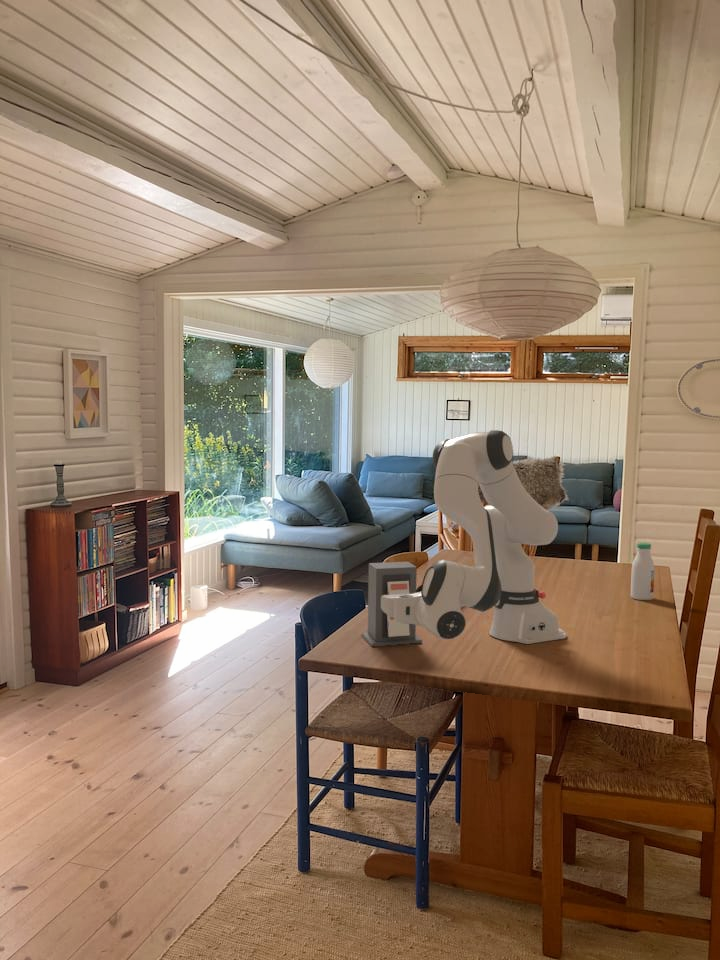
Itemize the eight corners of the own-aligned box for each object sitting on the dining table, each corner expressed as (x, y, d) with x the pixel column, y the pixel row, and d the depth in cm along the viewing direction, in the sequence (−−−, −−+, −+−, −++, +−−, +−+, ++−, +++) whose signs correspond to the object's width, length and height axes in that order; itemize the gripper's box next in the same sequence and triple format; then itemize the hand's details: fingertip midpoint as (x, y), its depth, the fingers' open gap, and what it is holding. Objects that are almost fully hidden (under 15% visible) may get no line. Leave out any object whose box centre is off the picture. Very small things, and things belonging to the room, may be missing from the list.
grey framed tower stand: (409, 632, 234) (411, 560, 232) (421, 643, 223) (423, 567, 221) (361, 635, 230) (362, 562, 228) (371, 646, 219) (372, 570, 217)
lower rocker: (409, 635, 221) (407, 610, 222) (410, 635, 219) (409, 610, 220) (387, 636, 219) (386, 611, 220) (389, 636, 218) (387, 611, 219)
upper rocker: (409, 605, 220) (408, 581, 221) (411, 605, 219) (409, 580, 220) (388, 607, 218) (386, 582, 219) (389, 607, 217) (387, 581, 218)
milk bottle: (645, 601, 274) (648, 546, 273) (626, 597, 280) (628, 542, 279) (657, 598, 279) (659, 543, 277) (637, 594, 285) (640, 540, 283)
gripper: (467, 594, 197) (447, 582, 210) (390, 597, 192) (375, 585, 205) (466, 618, 197) (447, 605, 211) (389, 622, 192) (374, 609, 206)
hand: (411, 595), depth 208 cm, fingers closed
